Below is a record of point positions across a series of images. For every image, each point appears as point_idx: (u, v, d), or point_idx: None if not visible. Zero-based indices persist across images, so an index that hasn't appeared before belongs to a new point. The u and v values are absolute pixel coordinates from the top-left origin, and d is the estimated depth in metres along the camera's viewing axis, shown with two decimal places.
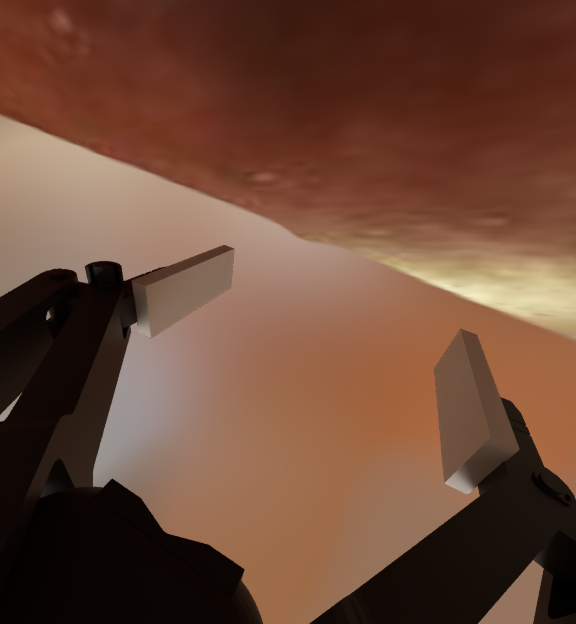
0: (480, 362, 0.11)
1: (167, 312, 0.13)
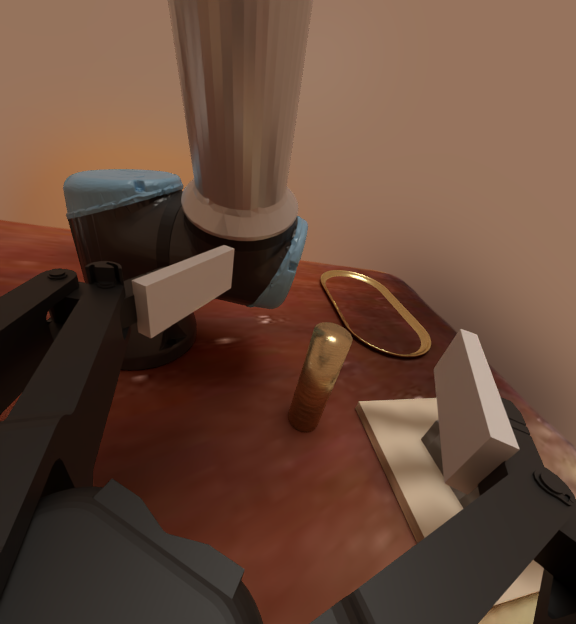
0: (480, 362, 0.11)
1: (167, 312, 0.13)
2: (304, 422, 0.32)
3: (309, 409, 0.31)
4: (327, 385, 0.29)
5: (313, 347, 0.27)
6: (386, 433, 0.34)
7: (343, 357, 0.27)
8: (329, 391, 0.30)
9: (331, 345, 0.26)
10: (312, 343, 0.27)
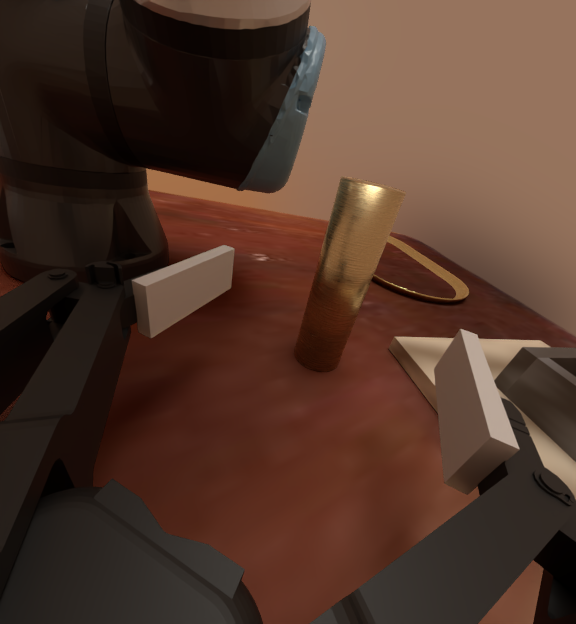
0: (480, 362, 0.11)
1: (167, 312, 0.13)
2: (320, 353, 0.21)
3: (330, 329, 0.20)
4: (360, 280, 0.18)
5: (341, 203, 0.16)
6: None
7: (391, 220, 0.16)
8: (362, 295, 0.19)
9: (375, 187, 0.15)
10: (339, 199, 0.16)
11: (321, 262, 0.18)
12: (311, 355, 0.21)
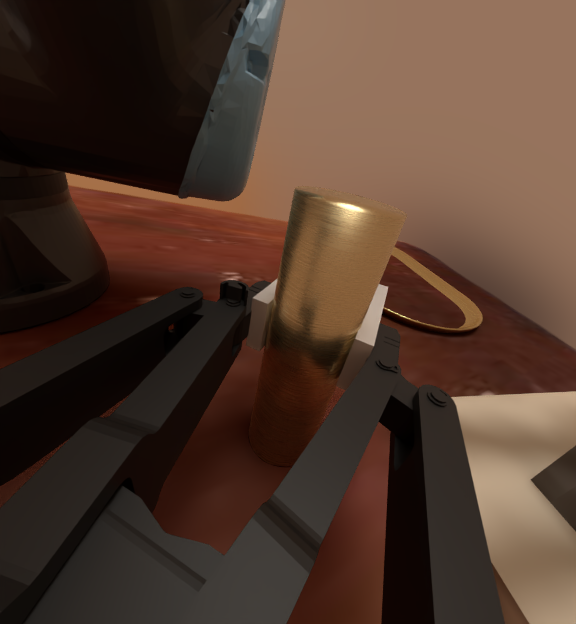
0: (378, 302, 0.14)
1: None
2: (279, 446, 0.14)
3: (290, 418, 0.13)
4: (332, 354, 0.11)
5: (294, 234, 0.09)
6: None
7: (381, 264, 0.09)
8: (337, 371, 0.12)
9: (349, 209, 0.08)
10: (291, 226, 0.09)
11: (272, 321, 0.12)
12: (267, 446, 0.15)
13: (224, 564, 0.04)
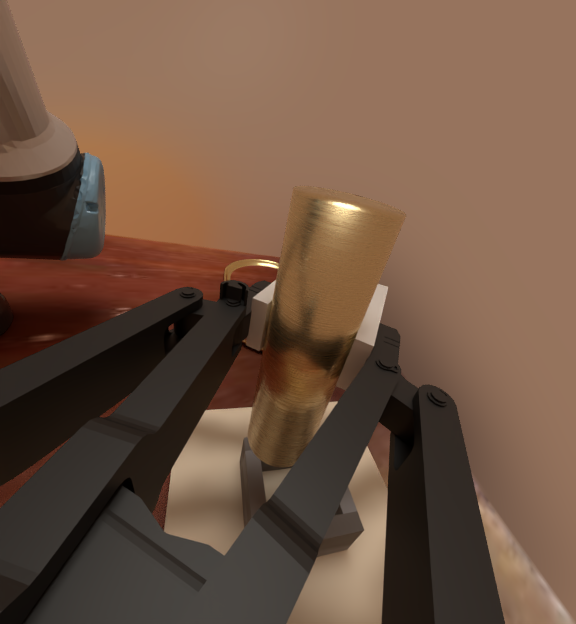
0: (378, 302, 0.14)
1: None
2: (278, 447, 0.14)
3: (288, 419, 0.13)
4: (331, 355, 0.11)
5: (292, 234, 0.09)
6: (192, 455, 0.25)
7: (380, 264, 0.09)
8: (336, 372, 0.12)
9: (348, 208, 0.08)
10: (289, 226, 0.09)
11: (270, 322, 0.12)
12: (266, 447, 0.14)
13: (224, 564, 0.04)
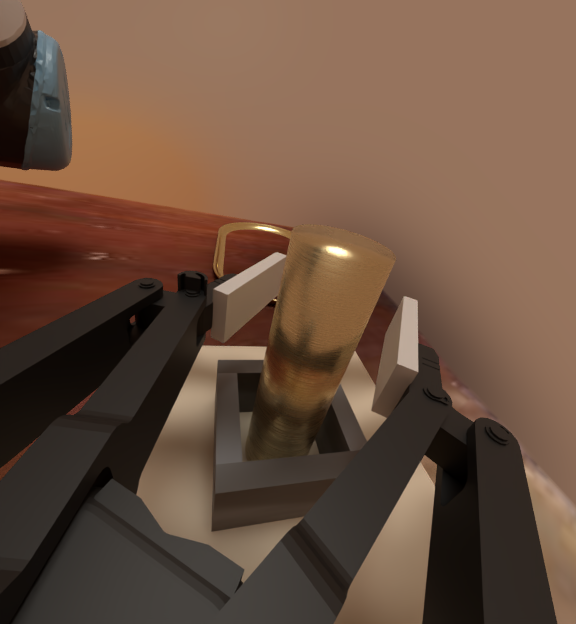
0: (411, 318, 0.13)
1: (237, 318, 0.13)
2: None
3: (285, 438, 0.14)
4: (325, 382, 0.12)
5: (290, 274, 0.10)
6: None
7: (371, 303, 0.10)
8: (330, 396, 0.13)
9: (342, 257, 0.09)
10: (288, 265, 0.10)
11: (269, 348, 0.12)
12: None
13: (248, 586, 0.04)
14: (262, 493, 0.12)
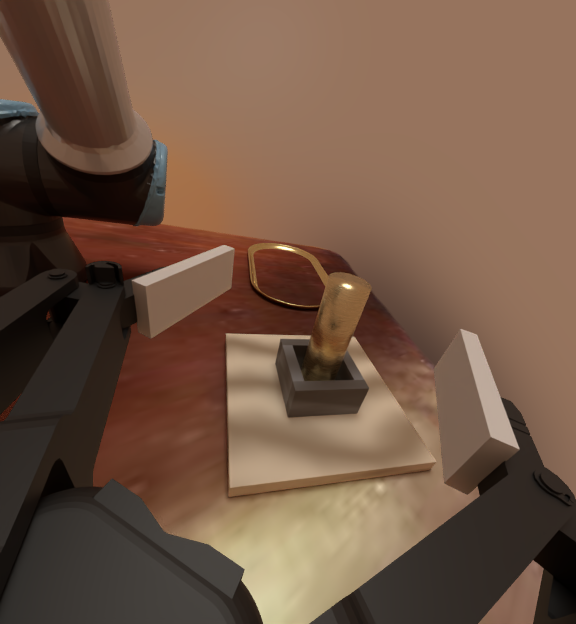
0: (480, 362, 0.11)
1: (167, 312, 0.13)
2: None
3: (322, 372, 0.28)
4: (342, 342, 0.26)
5: (328, 295, 0.24)
6: (240, 357, 0.34)
7: (361, 307, 0.24)
8: (344, 350, 0.27)
9: (350, 290, 0.23)
10: (327, 292, 0.25)
11: (316, 328, 0.27)
12: None
13: None
14: (314, 394, 0.26)
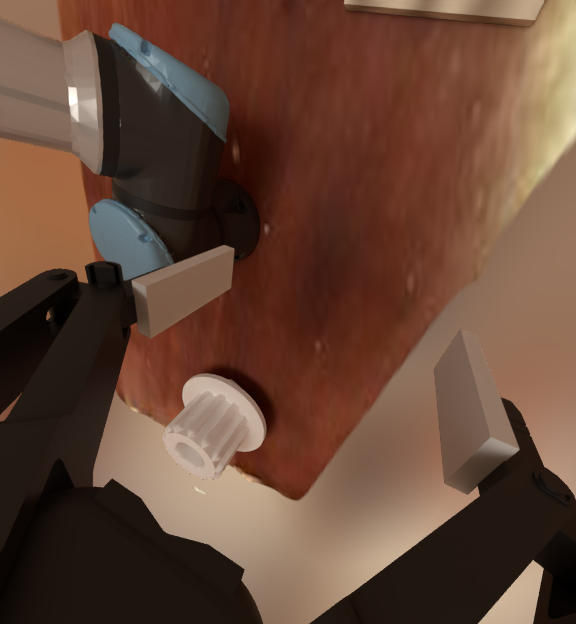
0: (480, 362, 0.11)
1: (167, 312, 0.13)
2: None
3: None
4: None
5: None
6: None
7: None
8: None
9: None
10: None
11: None
12: None
13: None
14: None
